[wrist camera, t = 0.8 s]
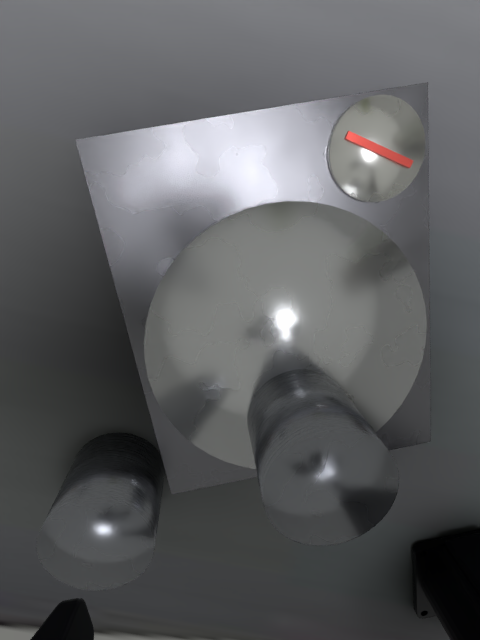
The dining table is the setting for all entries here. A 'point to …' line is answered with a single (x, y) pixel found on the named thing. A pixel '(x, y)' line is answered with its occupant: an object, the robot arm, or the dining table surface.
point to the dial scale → (271, 266)
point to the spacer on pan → (318, 460)
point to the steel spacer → (104, 514)
